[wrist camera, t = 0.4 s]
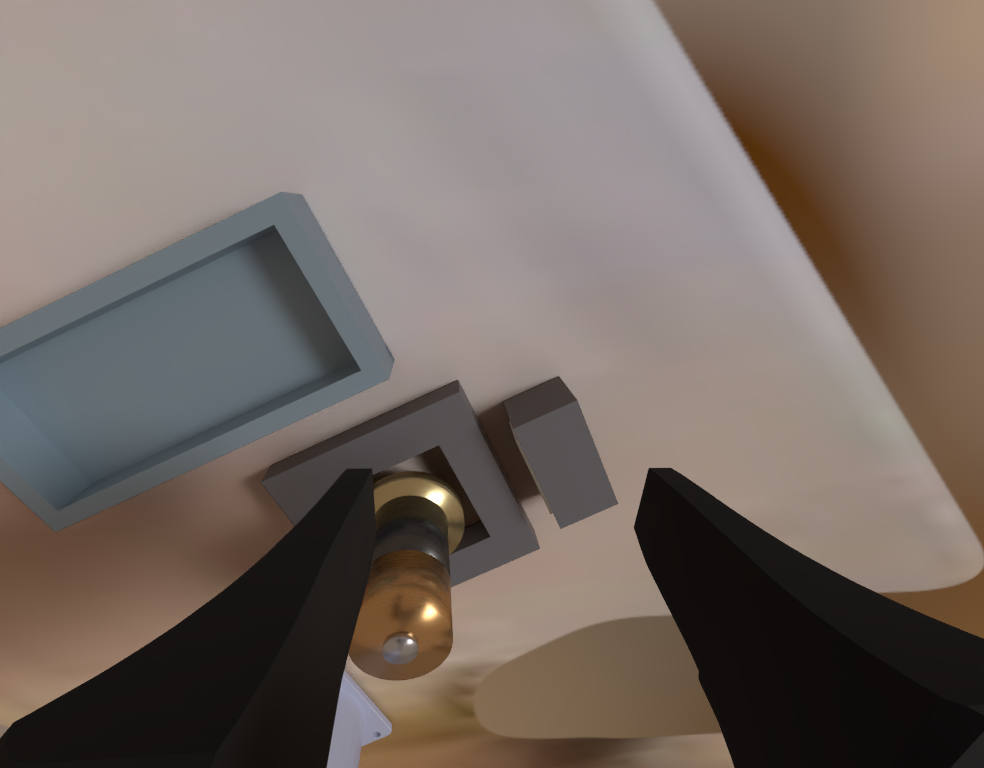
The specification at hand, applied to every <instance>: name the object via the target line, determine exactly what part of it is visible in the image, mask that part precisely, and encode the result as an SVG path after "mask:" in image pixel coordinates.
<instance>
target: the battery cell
mask: <svg viewBox="0 0 984 768" xmlns="http://www.w3.org/2000/svg"><path fill="white" fill-rule="evenodd" d="M375 518H376V538H375V545H374V552H373V559H372V565H371V571H370V575H369V578H368V582H367V586H366V590H365V594H364V597H363V601H362V605H361V608H360V612H359V616H358V620H357V623H356V627H355V631H354V634H353V638H352V642H351V645H350V649H349V656H350V658H351V660H352V661H353V663H354V664H355V665H356V666H357V667H358V668H359V669H361V670H362V671H363V672H365V673H367V674H369V675H371V676H373V677H377V678H380V679H385V680H407V679H413V678H416V677H420V676H422V675H425V674H427V673H429V672H431V671H432V670H434V669H436V668H437V667H438V666H439V665H441V664H442V663H443V662H444V660H445V659H446V658H447V656H448V655H449V653H450V651H451V648H452V643H453V632H452V608H451V584H450V560H449V537H448V521H447V517H446V515H445V513H444V511H443V510H442V508H441V507H440V506H439V505H438V504H436V503H435V502H433V501H432V500H430V499H427V498H425V497H421V496H413V495H409V496H401V497H397V498H394V499H392V500H390V501H388V502H386V503H385V504H383V505H382V506H381V507H380V508H379V509H378V510H377V512H376V513H375Z"/></svg>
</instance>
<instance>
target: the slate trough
mask: <svg viewBox="0 0 984 768" xmlns="http://www.w3.org/2000/svg"><path fill="white" fill-rule="evenodd" d="M393 363H394V358H393V356H392V354H391V352H390V351H389V349H388V347H387V345H386V343H385V342H384V340H383V338H382V336H381V335H380V333H379V331H378V329H377V327H376V326H375V324H374V322H373V320H372V318H371V317H370V315H369V313H368V311H367V310H366V308H365V306H364V304H363V302H362V301H361V299H360V297H359V295H358V293H357V292H356V290H355V288H354V286H353V284H352V283H351V281H350V279H349V277H348V276H347V274H346V272H345V270H344V268H343V267H342V265H341V263H340V261H339V259H338V258H337V256H336V254H335V252H334V251H333V249H332V247H331V245H330V243H329V242H328V240H327V238H326V236H325V234H324V233H323V231H322V229H321V227H320V225H319V224H318V222H317V220H316V218H315V217H314V215H313V213H312V211H311V209H310V208H309V206H308V204H307V202H306V200H305V199H304V197H303V195H300V194H293V193H286V192H280V193H278V194H276V195H274V196H272V197H270V198H268V199H265V200H263V201H261V202H259V203H257V204H255V205H253V206H251V207H249V208H247V209H245V210H243V211H241V212H239V213H237V214H235V215H233V216H230V217H228V218H226V219H224V220H222V221H220V222H218V223H216V224H214V225H212V226H210V227H208V228H206V229H204V230H202V231H200V232H197V233H195V234H193V235H191V236H189V237H187V238H185V239H183V240H181V241H179V242H177V243H175V244H173V245H171V246H169V247H167V248H164V249H162V250H160V251H158V252H156V253H154V254H152V255H150V256H148V257H146V258H144V259H142V260H140V261H138V262H136V263H134V264H132V265H129V266H127V267H125V268H123V269H121V270H119V271H117V272H115V273H113V274H111V275H109V276H107V277H105V278H103V279H101V280H99V281H96V282H94V283H92V284H90V285H88V286H86V287H84V288H82V289H80V290H78V291H76V292H74V293H72V294H70V295H68V296H66V297H64V298H61V299H59V300H57V301H55V302H53V303H51V304H49V305H47V306H45V307H43V308H41V309H39V310H37V311H35V312H33V313H31V314H28V315H26V316H24V317H22V318H20V319H18V320H16V321H14V322H12V323H10V324H8V325H6V326H4V327H2V328H0V481H1V482H2V483H3V484H4V485H5V486H6V487H7V488H8V489H9V490H10V491H11V492H12V493H14V494H15V495H16V496H17V497H18V498H19V499H20V500H21V501H22V502H23V503H24V504H25V505H26V506H28V507H29V508H30V509H31V510H32V511H33V512H34V513H35V514H36V515H37V516H38V517H39V518H40V519H41V520H43V521H44V522H45V523H46V524H47V525H48V526H49V527H50V528H51V529H52V530H53V531H54V532H58V531H60V530H62V529H64V528H66V527H68V526H71V525H73V524H75V523H77V522H79V521H81V520H84V519H86V518H88V517H90V516H92V515H94V514H97V513H99V512H101V511H103V510H105V509H108V508H110V507H112V506H114V505H116V504H118V503H121V502H123V501H125V500H127V499H129V498H131V497H134V496H136V495H138V494H140V493H142V492H144V491H147V490H149V489H151V488H153V487H155V486H158V485H160V484H162V483H164V482H166V481H168V480H171V479H173V478H175V477H177V476H179V475H181V474H184V473H186V472H188V471H190V470H192V469H194V468H197V467H199V466H201V465H203V464H205V463H208V462H210V461H212V460H214V459H216V458H218V457H221V456H223V455H225V454H227V453H229V452H231V451H234V450H236V449H238V448H240V447H242V446H244V445H247V444H249V443H251V442H253V441H255V440H258V439H260V438H262V437H264V436H266V435H268V434H271V433H273V432H275V431H277V430H279V429H281V428H284V427H286V426H288V425H290V424H292V423H294V422H297V421H299V420H301V419H303V418H305V417H308V416H310V415H312V414H314V413H316V412H318V411H321V410H323V409H325V408H327V407H329V406H331V405H334V404H336V403H338V402H340V401H342V400H344V399H347V398H349V397H351V396H353V395H355V394H358V393H360V392H362V391H364V390H366V389H368V388H371V387H373V386H375V385H377V384H379V383H381V382H384V381H386V380H388V379H389V377H390V374H391V370H392V367H393Z"/></svg>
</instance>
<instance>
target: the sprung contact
mask: <svg viewBox="0 0 984 768" xmlns="http://www.w3.org/2000/svg"><path fill="white" fill-rule="evenodd" d="M373 489H374V503H375V513H376V512H377V510H378V509H379V508H380V507H381V506H382V505H383V504H385V503H386V502H388V501H390V500H392V499H394V498H397V497H401V496H409V495H413V496H421V497H425V498H427V499H430V500H432V501H433V502H435V503H436V504H438V505H439V506H440V507H441V508H442V510H443V511H444V513H445V515H446V517H447V521H448V537H449V555H450V554H451V553H452V552H453V551H454V550H455V549H456V547H457V546H458V545H459V543H460V541H461V539H462V536H463V533H464V524H465V522H464V511H463V505H462V502H461V499H460V497H459V495H458V494H457V492H456V491H455V490H454V489H453V487H452V486H451V485H449V484H448V483H447V482H446V481H444V480H443V479H441V478H439V477H437V476H435V475H432V474H429V473H424V472H417V471H405V472H399V473H395V474H391V475H388V476H386V477H384V478H382V479H380V480H378V481H377V482H375V483H374V484H373Z"/></svg>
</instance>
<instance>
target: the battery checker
mask: <svg viewBox="0 0 984 768" xmlns="http://www.w3.org/2000/svg"><path fill="white" fill-rule="evenodd" d="M503 403H504V405H505V408H506V411H507V414H508V416H509V419H510V422H509V424H510V427H511V430H512V433H513V435H514V438H515V441H516V443H517V445H518V447H519V450H520V452H521V454H522V456H523V458H524V460H525V462H526V464H527V466H528V468H529V470H530V473H531V475H532V477H533V479H534V481H535V483H536V485H537V487H538V489H539V491H540V493H541V495H542V498H543V500H544V502H545V504H546V506H547V508H548V510H549V512H550V514H552V513H553V514H554V516H555V518H556V520H557V522H558V525H559V527H560V529H562V528H564V527H566V526H568V525H571V524H573V523H575V522H578V521H580V520H582V519H584V518H587V517H589V516H591V515H594V514H596V513H598V512H600V511H603V510H605V509H607V508H610V507H612V506H614V505H617V504H618V502H617V500H616V497H615V494H614V492H613V489H612V487H611V484H610V482H609V479H608V477H607V474H606V472H605V469H604V467H603V464H602V462H601V459H600V457H599V454H598V452H597V449H596V446H595V444H594V441H593V439H592V436H591V434H590V431H589V429H588V426H587V424H586V421H585V419H584V416H583V414H582V411H581V409H580V406H579V404H578V401H577V399H576V398H575V397H574V395H573V394H572V393H571V391H570V390H569V389H568V387H567V386H566V385H565V384H564V382H563V381H562V380H561V378H560V377H559V376H558V377H556V378H554V379H552V380H549V381H547V382H545V383H543V384H541V385H538V386H536V387H534V388H532V389H530V390H527V391H525V392H523V393H521V394H519V395H516V396H514V397H512V398H510V399H507V400H505V401H503ZM438 445H439V446H440V448H441V450H442V451H443V453H444V455H445V457H446V458H447V460H448V462H449V464H450V466H451V467H452V469H453V471H454V473H455V474H456V476H457V478H458V480H459V482H460V483H461V485H462V487H463V489H464V490H465V492H466V494H467V496H468V498H469V499H470V501H471V503H472V505H473V506H474V508H475V510H476V512H477V514H478V515H479V517H480V519H481V521H480V522H478V523H476V524H473V525H471V526H469V527H467V528H464V533H463V536H462V539H461V541H460V543H459V545H458V546H457V547H456V549H455V550H454V551H453V552H452V553H451V554H450V555H449V560H450V584H451V587H453V586H455V585H458V584H460V583H462V582H464V581H467V580H469V579H471V578H474V577H476V576H478V575H480V574H483V573H485V572H487V571H490V570H492V569H494V568H497V567H499V566H501V565H503V564H506V563H508V562H510V561H513V560H515V559H517V558H520V557H522V556H524V555H526V554H529V553H531V552H533V551H536V550H538V549H540V547H539V544H538V540H537V537H536V534H535V531H534V528H533V527H532V525H531V523H530V521H529V519H528V517H527V515H526V513H525V511H524V509H523V507H522V505H521V503H520V501H519V499H518V497H517V495H516V493H515V491H514V489H513V487H512V485H511V483H510V481H509V479H508V477H507V475H506V473H505V471H504V469H503V467H502V465H501V463H500V461H499V459H498V457H497V456H496V454H495V452H494V450H493V448H492V446H491V444H490V442H489V440H488V438H487V436H486V434H485V432H484V430H483V428H482V426H481V424H480V422H479V420H478V418H477V416H476V414H475V412H474V410H473V408H472V406H471V404H470V402H469V400H468V398H467V396H466V394H465V392H464V390H463V388H462V386H461V385H460V383H459V381H458V380H457V381H455V382H452V383H450V384H448V385H446V386H444V387H442V388H439V389H437V390H435V391H433V392H431V393H428V394H426V395H424V396H422V397H420V398H417V399H415V400H413V401H411V402H409V403H406V404H404V405H402V406H400V407H398V408H396V409H393V410H391V411H389V412H387V413H385V414H382V415H380V416H378V417H376V418H374V419H371V420H369V421H367V422H365V423H363V424H360V425H358V426H356V427H354V428H352V429H350V430H347V431H345V432H343V433H341V434H339V435H336V436H334V437H332V438H330V439H328V440H325V441H323V442H321V443H319V444H317V445H314V446H312V447H310V448H308V449H306V450H304V451H301V452H299V453H297V454H295V455H293V456H290V457H288V458H286V459H284V460H282V461H279V462H277V463H275V464H273V465H271V467H270V468H269V470H268V472H267V473H266V475H265V476H264V478H263V479H262V481H261V484H262V485H263V486H264V487H265V489H266V490H267V491H268V493H269V494H270V495H271V496H272V498H273V499H274V500H275V501H276V503H277V504H278V505H279V507H280V508H281V509H282V510H283V512H284V513H285V514H286V515H287V517H288V518H289V519H290V521H291V522H292V523H293V524H294V526H296V524H297V523H298V522H299V521H300V520H301V519H302V518H303V517H304V516H305V515H306V514H307V513H308V512H309V511H310V510H311V508H312V507H313V506H314V505H315V504H316V503H317V502H318V501H319V500H320V498H321V497H322V496H323V495H324V494H325V493H326V492H327V490H328V489H329V488H330V487H331V486H332V485H333V483H334V482H335V481H336V480H337V479H338V478H339V476H340V475H341V474H342V473H343V472H344V471H345V470H346V469H363V468H372V474H373V475H374V474H376V473H379V472H381V471H383V470H385V469H387V468H390V467H392V466H394V465H396V464H398V463H401V462H403V461H405V460H407V459H410V458H412V457H414V456H416V455H418V454H421V453H423V452H425V451H427V450H430V449H432V448H434V447H436V446H438Z"/></svg>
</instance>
